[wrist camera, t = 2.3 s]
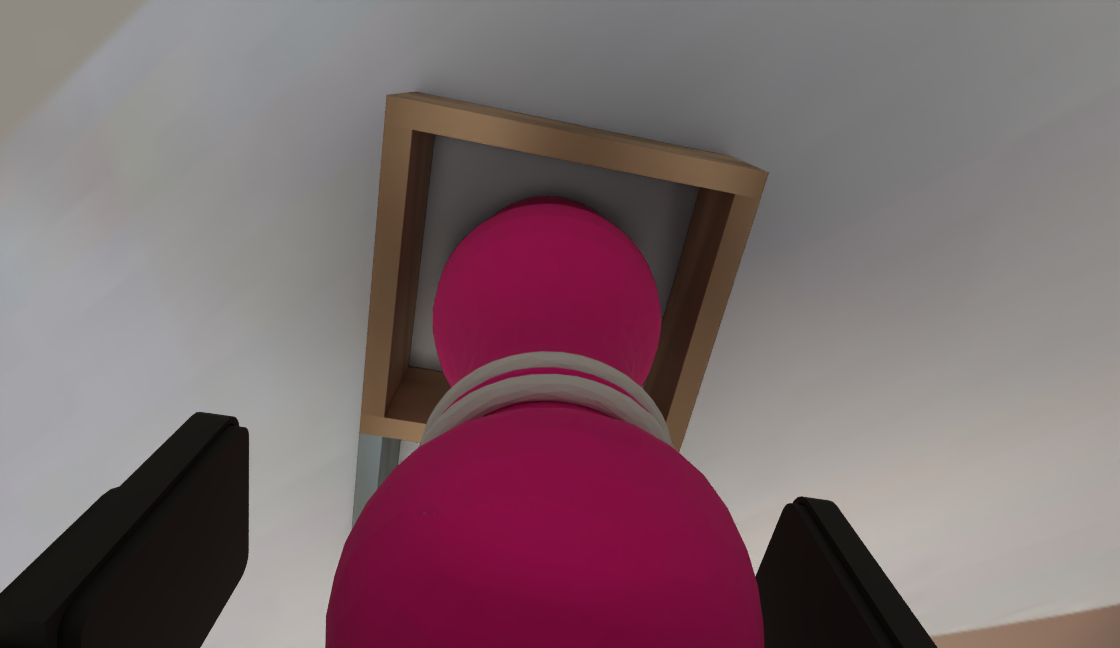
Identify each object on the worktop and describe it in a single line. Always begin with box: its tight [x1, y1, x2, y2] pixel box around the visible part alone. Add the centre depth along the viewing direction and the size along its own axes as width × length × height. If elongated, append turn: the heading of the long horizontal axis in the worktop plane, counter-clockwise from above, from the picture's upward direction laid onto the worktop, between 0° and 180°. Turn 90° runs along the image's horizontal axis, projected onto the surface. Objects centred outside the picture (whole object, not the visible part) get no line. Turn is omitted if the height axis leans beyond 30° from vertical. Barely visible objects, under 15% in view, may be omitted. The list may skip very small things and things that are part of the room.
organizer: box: [352, 92, 769, 529], centre depth 23 cm, size 11×22×4 cm, turn 169°
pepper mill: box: [325, 196, 764, 648], centre depth 14 cm, size 7×7×20 cm
